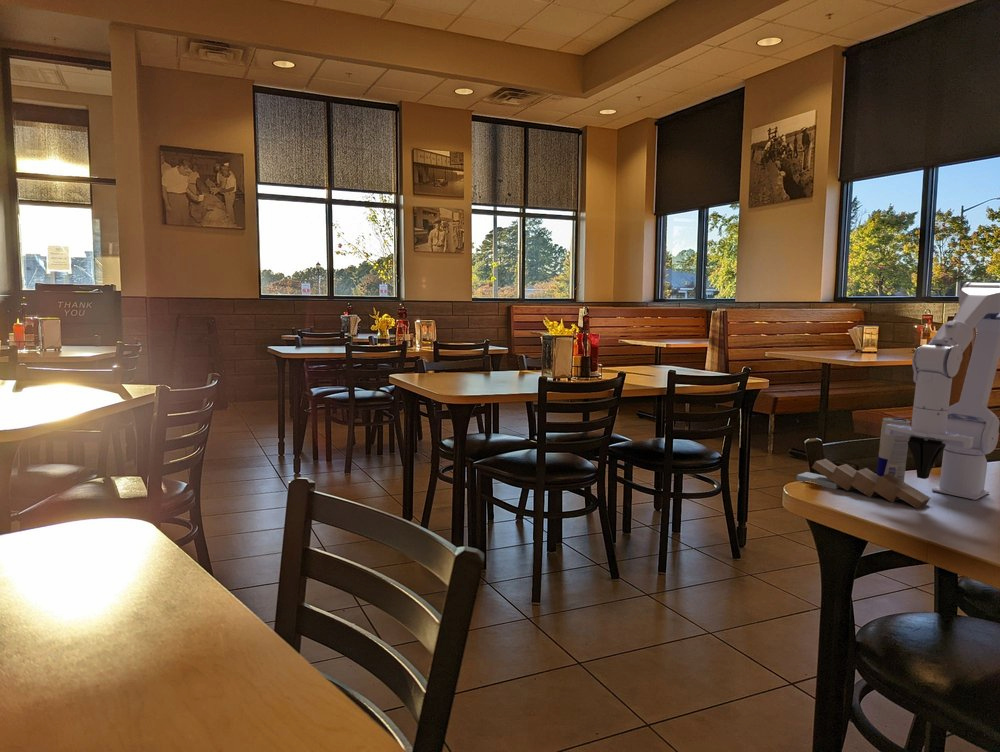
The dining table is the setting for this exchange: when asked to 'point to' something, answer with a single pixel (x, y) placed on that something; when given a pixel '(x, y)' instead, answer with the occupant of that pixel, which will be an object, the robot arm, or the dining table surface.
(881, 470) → the white tall box
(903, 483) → the domino
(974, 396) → the robot arm
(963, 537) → the dining table surface
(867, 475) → the domino
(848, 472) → the domino
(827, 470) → the domino
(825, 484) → the domino
